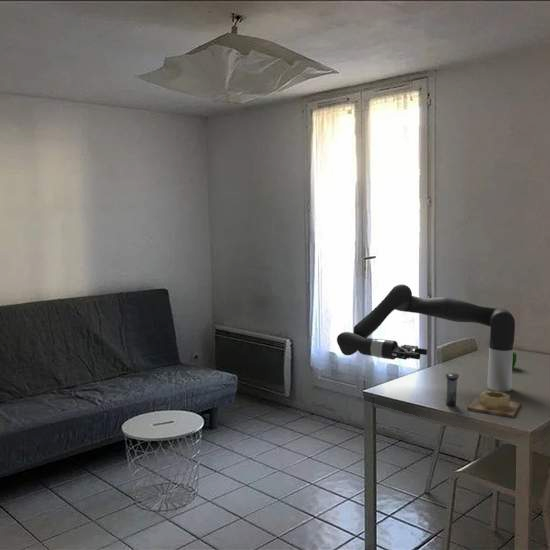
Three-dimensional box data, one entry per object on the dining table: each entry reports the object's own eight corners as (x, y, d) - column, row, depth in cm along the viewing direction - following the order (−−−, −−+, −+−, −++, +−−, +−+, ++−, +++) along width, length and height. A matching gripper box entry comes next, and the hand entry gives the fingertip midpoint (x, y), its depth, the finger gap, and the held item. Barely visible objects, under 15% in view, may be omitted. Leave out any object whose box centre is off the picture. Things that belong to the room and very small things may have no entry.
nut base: (467, 409, 221) (468, 396, 221) (477, 398, 235) (478, 386, 234) (513, 417, 213) (513, 404, 212) (520, 405, 226) (521, 392, 226)
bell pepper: (512, 366, 284) (513, 345, 283) (518, 370, 275) (519, 349, 274) (494, 365, 284) (495, 345, 283) (499, 370, 276) (500, 349, 275)
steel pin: (442, 403, 229) (443, 373, 227) (454, 402, 229) (455, 372, 228) (447, 407, 224) (448, 376, 223) (459, 407, 225) (461, 376, 223)
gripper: (377, 343, 233) (418, 348, 224) (390, 336, 245) (429, 341, 236) (377, 361, 233) (417, 367, 225) (390, 354, 245) (428, 359, 237)
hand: (423, 354), depth 231 cm, fingers open, 8 cm apart
